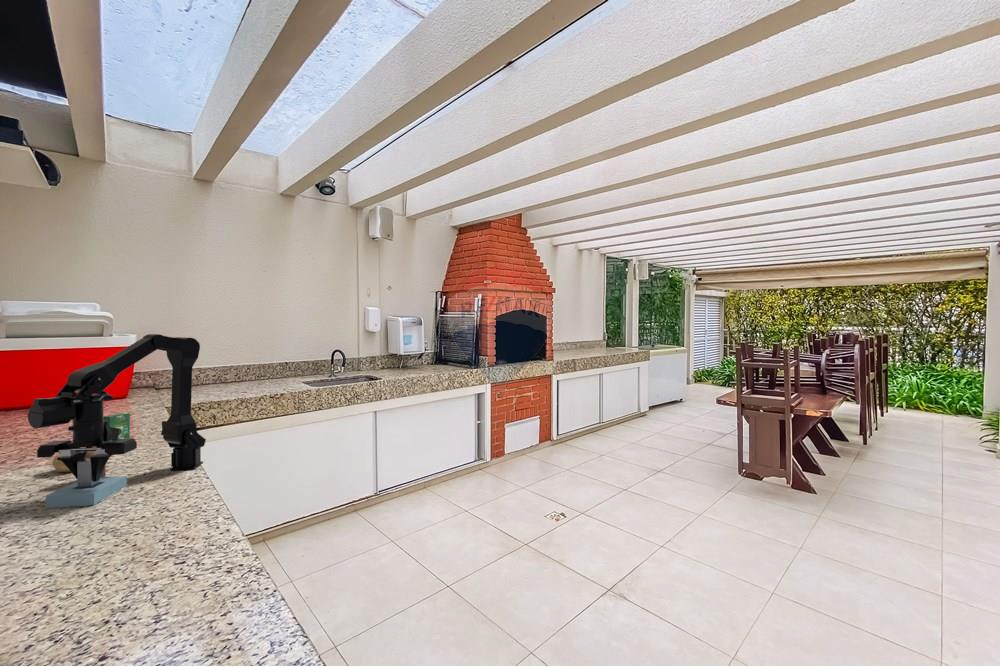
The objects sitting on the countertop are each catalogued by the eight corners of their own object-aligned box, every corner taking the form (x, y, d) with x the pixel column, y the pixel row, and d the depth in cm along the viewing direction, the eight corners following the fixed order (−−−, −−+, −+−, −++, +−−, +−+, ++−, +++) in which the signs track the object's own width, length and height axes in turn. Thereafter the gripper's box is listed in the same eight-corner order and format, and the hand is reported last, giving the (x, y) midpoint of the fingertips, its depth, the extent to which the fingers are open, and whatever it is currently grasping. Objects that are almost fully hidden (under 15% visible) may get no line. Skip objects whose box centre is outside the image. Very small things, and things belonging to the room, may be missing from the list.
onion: (96, 467, 134) (95, 444, 134) (63, 476, 127) (62, 451, 126) (79, 465, 137) (79, 442, 137) (46, 473, 129) (45, 448, 129)
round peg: (110, 476, 127) (109, 448, 127) (97, 482, 122) (96, 453, 122) (89, 476, 126) (89, 449, 126) (75, 483, 121) (75, 454, 121)
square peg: (100, 488, 113) (99, 457, 113) (91, 493, 110) (91, 461, 110) (86, 489, 113) (86, 458, 113) (77, 493, 110) (77, 461, 110)
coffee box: (122, 449, 154) (122, 411, 153) (130, 449, 154) (130, 411, 153) (101, 456, 146) (100, 416, 145) (109, 456, 146) (109, 416, 145)
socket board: (126, 487, 118) (126, 476, 118) (94, 505, 107) (94, 493, 106) (84, 489, 117) (83, 478, 117) (45, 508, 105) (45, 495, 105)
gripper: (149, 412, 121) (149, 469, 121) (70, 414, 117) (71, 472, 118) (122, 421, 110) (122, 483, 110) (34, 423, 107) (35, 487, 107)
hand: (88, 481), depth 112 cm, fingers closed on square peg, 3 cm apart
